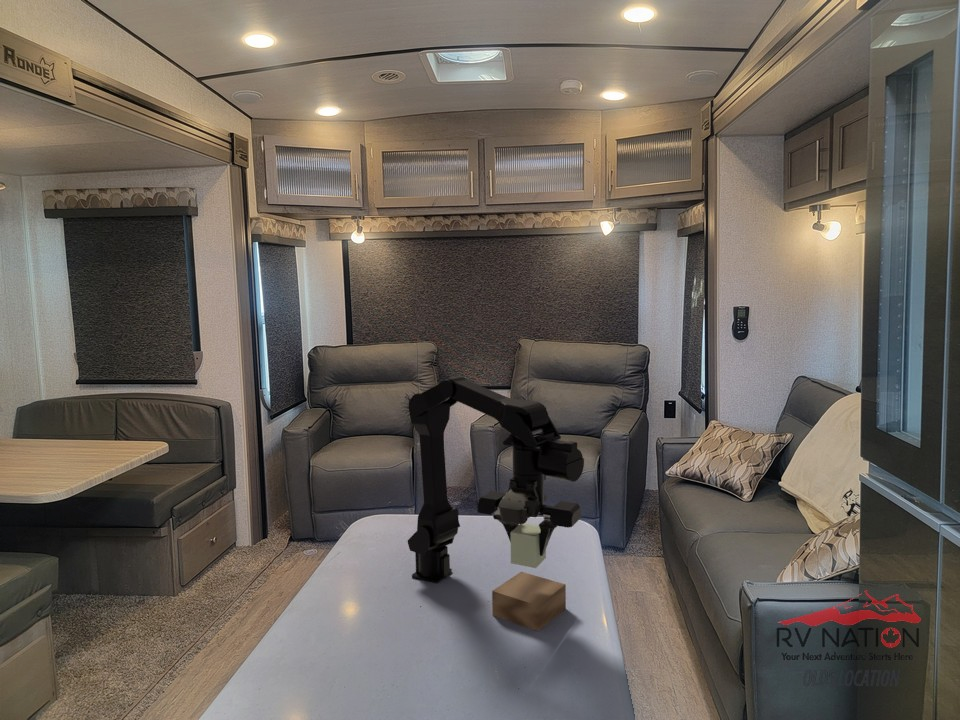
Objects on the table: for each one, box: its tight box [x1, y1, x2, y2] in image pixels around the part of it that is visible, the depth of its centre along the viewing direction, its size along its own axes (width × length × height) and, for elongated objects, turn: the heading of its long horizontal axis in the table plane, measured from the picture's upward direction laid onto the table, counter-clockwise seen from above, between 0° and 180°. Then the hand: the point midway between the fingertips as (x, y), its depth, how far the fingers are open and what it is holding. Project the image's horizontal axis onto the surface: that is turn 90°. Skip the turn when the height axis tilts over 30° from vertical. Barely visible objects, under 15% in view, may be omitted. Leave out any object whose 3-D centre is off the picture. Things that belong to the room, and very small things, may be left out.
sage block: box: [510, 523, 547, 569], centre depth 123 cm, size 5×5×6 cm
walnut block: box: [491, 571, 567, 632], centre depth 124 cm, size 10×10×5 cm
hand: (528, 552), depth 123 cm, fingers closed on sage block, 5 cm apart
